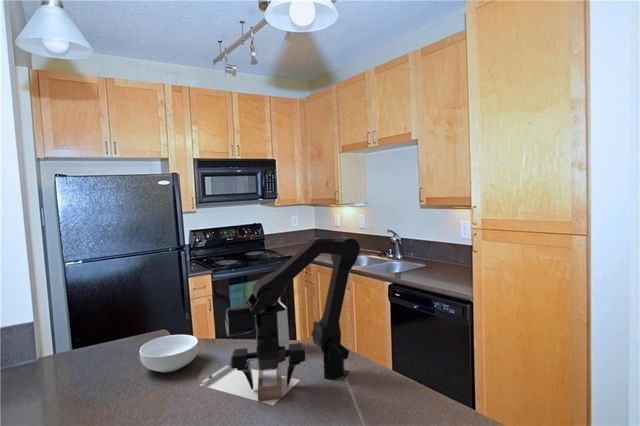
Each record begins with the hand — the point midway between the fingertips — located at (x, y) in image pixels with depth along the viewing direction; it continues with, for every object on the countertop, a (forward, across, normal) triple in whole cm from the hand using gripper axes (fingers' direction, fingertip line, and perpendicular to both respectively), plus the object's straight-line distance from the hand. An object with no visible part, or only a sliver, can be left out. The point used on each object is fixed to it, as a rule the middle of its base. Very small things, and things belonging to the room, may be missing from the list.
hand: (270, 386), depth 100 cm
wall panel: (+1, -6, +4) cm, 7 cm away
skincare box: (+2, +2, +24) cm, 24 cm away
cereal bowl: (+2, -30, +21) cm, 37 cm away
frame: (0, 0, 0) cm, 0 cm away
